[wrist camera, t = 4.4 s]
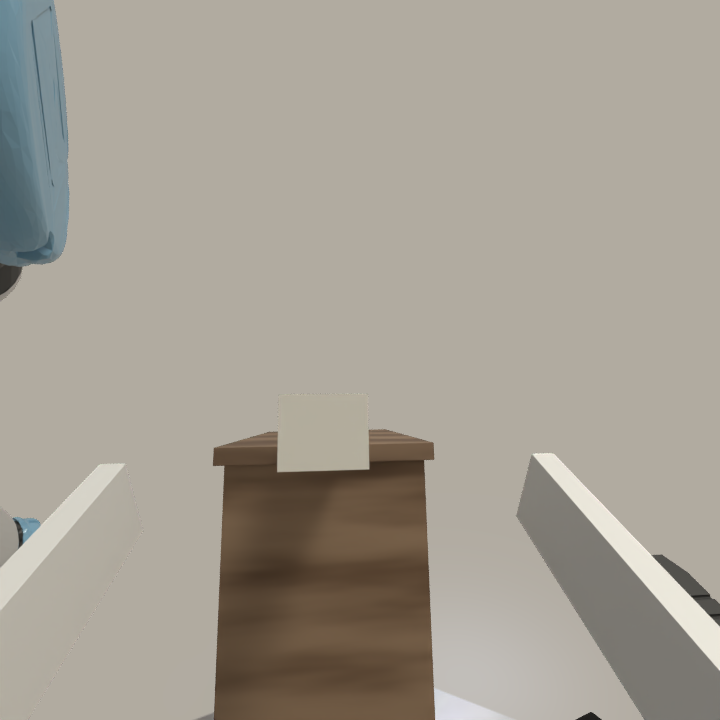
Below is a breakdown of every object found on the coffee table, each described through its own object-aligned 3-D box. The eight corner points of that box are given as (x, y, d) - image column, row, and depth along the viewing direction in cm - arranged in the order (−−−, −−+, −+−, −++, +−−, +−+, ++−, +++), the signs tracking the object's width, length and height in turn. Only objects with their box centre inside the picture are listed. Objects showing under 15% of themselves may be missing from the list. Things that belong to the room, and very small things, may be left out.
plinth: (463, 1082, 17) (433, 442, 21) (181, 1135, 16) (213, 448, 20) (393, 730, 35) (385, 429, 40) (262, 742, 34) (269, 431, 39)
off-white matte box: (369, 469, 12) (367, 390, 12) (276, 471, 11) (278, 391, 12) (342, 431, 37) (342, 406, 38) (313, 432, 37) (313, 407, 37)
